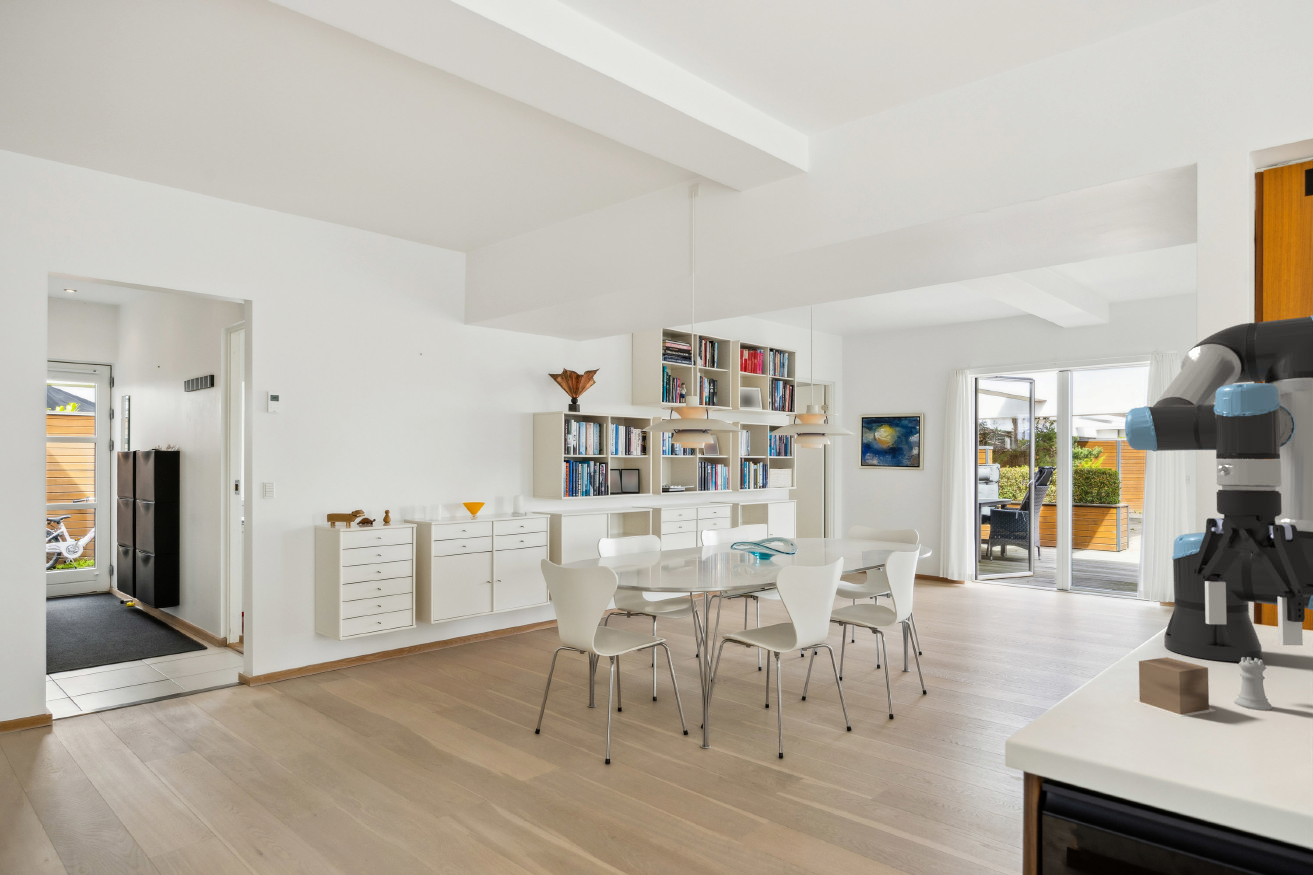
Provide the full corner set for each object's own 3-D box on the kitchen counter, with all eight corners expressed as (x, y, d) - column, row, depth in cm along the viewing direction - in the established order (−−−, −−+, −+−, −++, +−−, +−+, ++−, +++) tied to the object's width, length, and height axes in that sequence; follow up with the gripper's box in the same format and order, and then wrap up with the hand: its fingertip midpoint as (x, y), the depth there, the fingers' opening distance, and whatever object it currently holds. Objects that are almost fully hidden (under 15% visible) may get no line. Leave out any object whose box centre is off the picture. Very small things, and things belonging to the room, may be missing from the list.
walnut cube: (1167, 697, 114) (1167, 657, 114) (1209, 709, 108) (1208, 667, 108) (1139, 701, 112) (1138, 660, 112) (1180, 714, 106) (1179, 671, 106)
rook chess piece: (1275, 721, 107) (1274, 665, 107) (1236, 716, 109) (1234, 660, 109) (1270, 712, 111) (1269, 657, 111) (1232, 707, 113) (1231, 653, 113)
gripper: (1164, 485, 123) (1166, 616, 122) (1295, 491, 98) (1299, 654, 98) (1210, 486, 123) (1212, 616, 123) (1352, 491, 98) (1356, 655, 98)
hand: (1250, 633), depth 110 cm, fingers open, 13 cm apart
